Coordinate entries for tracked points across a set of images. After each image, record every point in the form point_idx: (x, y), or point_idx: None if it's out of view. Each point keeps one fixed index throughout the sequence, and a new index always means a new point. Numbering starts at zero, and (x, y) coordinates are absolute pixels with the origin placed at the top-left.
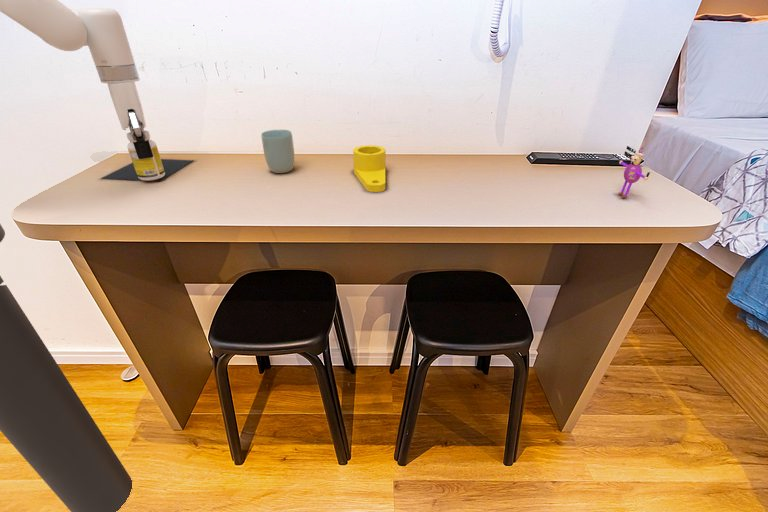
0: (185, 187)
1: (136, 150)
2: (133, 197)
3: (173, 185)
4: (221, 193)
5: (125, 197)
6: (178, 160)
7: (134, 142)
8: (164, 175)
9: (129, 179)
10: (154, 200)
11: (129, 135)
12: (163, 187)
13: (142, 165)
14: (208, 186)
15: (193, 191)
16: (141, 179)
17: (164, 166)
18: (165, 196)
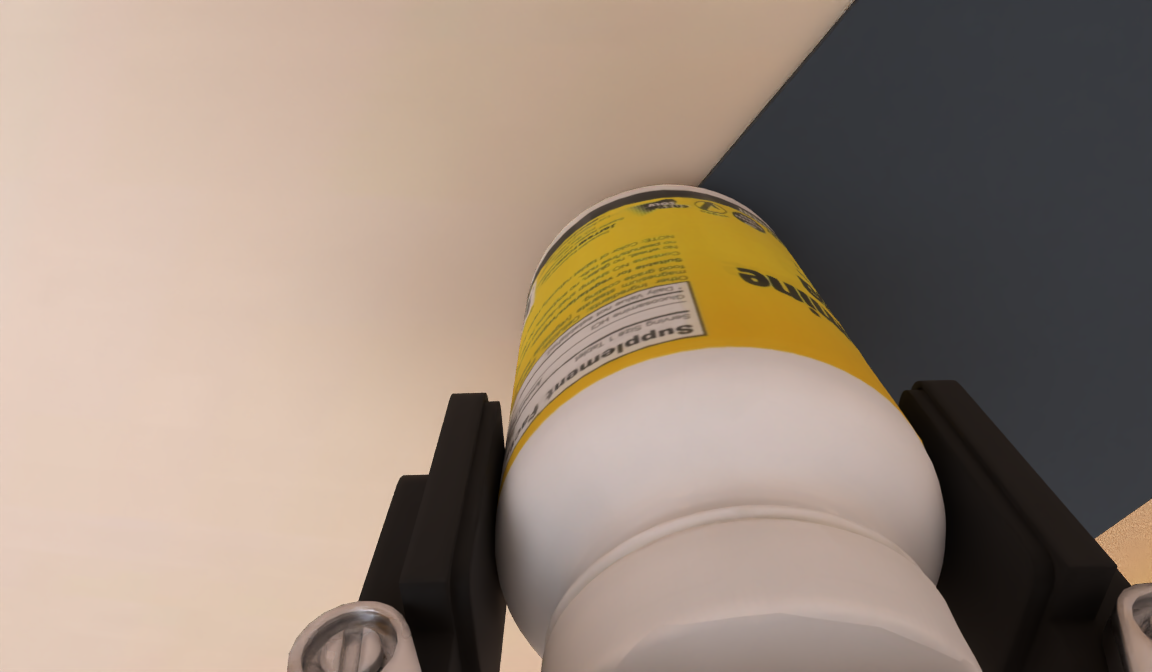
0: (308, 496)
1: (435, 478)
2: (196, 87)
3: (400, 427)
4: (90, 659)
5: (223, 6)
6: (1088, 529)
7: (328, 613)
8: None
9: (801, 68)
10: (57, 263)
11: (630, 648)
12: (383, 354)
13: (524, 344)
14: (267, 619)
15: (190, 531)
16: (583, 211)
17: (996, 414)
18: (136, 350)
